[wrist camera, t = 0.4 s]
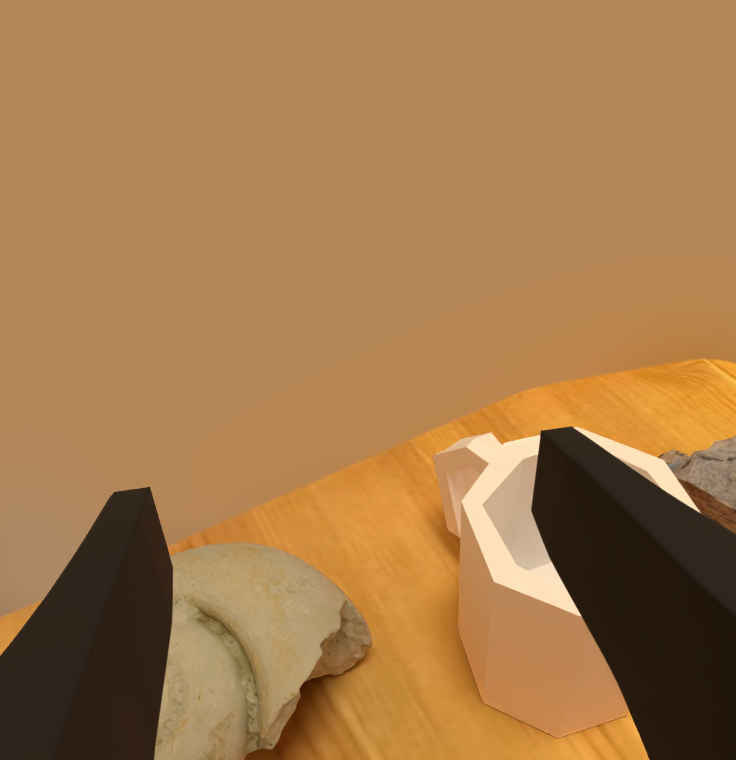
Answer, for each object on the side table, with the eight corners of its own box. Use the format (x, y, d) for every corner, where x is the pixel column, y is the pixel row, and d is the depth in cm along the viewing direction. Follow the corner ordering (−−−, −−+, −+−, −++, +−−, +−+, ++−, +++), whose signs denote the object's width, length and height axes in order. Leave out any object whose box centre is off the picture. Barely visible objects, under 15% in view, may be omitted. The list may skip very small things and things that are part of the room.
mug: (689, 658, 30) (759, 529, 23) (549, 785, 27) (584, 676, 20) (502, 488, 38) (515, 353, 31) (376, 570, 34) (359, 440, 28)
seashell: (62, 866, 20) (-14, 589, 25) (115, 903, 25) (43, 670, 31) (418, 643, 25) (291, 455, 31) (396, 716, 31) (292, 546, 36)
